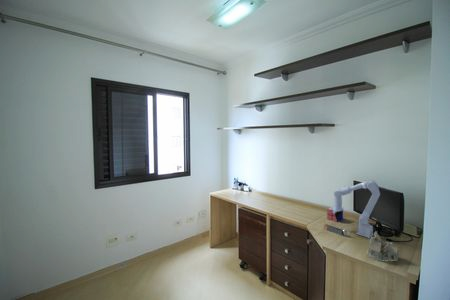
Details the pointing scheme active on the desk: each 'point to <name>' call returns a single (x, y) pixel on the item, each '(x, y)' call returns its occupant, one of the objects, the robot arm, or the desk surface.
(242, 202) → the desk surface
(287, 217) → the desk surface
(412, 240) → the desk surface
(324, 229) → the tongs fixed
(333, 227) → the arm
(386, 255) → the ceramic cottage
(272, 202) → the desk surface
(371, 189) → the robot arm
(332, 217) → the puzzle cube
